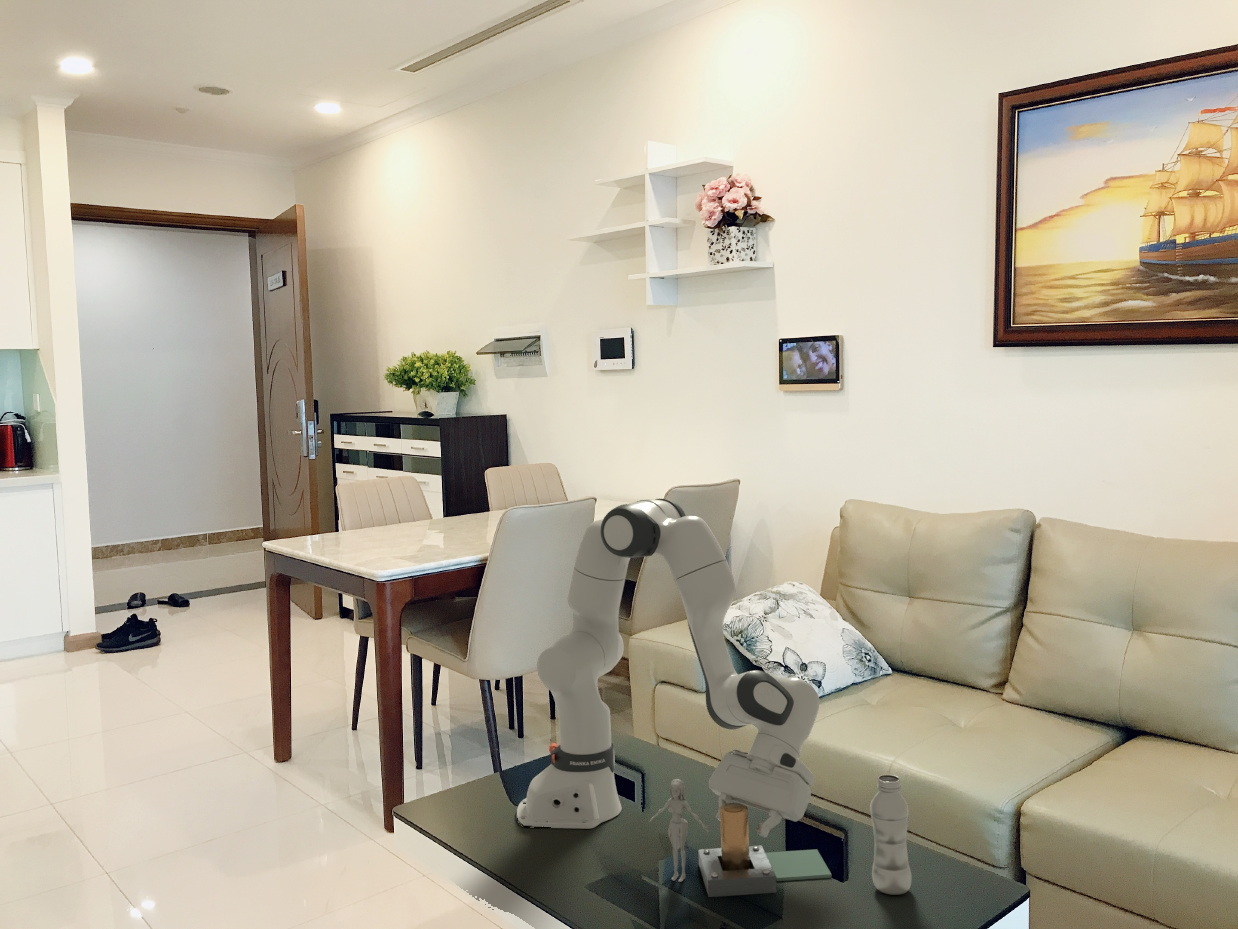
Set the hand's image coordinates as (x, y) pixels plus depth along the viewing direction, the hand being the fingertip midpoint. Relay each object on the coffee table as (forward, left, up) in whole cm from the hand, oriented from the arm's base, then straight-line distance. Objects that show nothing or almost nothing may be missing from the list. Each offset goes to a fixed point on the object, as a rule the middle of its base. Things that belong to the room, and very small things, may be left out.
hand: (740, 827), depth 176 cm
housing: (-1, -1, -9) cm, 9 cm away
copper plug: (-1, -1, -9) cm, 9 cm away
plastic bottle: (+25, -9, -9) cm, 28 cm away
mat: (+11, +2, -9) cm, 14 cm away
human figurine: (-11, +1, -9) cm, 15 cm away
